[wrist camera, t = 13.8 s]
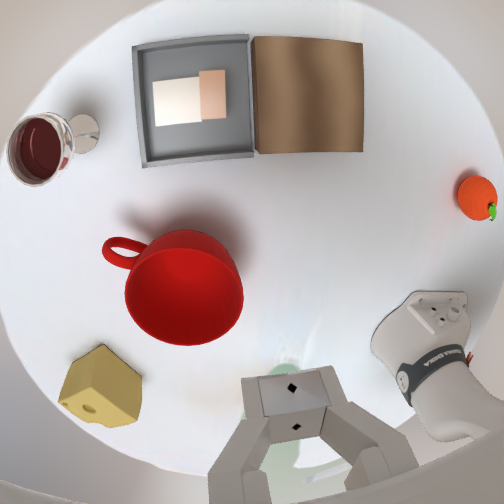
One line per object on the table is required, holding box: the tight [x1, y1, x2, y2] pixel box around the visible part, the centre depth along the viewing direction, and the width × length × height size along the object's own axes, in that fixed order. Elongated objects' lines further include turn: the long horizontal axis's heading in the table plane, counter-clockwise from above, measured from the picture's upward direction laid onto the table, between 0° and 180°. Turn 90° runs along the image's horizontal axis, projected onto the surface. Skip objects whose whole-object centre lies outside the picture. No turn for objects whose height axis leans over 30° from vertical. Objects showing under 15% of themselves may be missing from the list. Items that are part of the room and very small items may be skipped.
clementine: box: [458, 176, 497, 221], centre depth 39 cm, size 8×7×7 cm
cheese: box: [58, 345, 142, 428], centre depth 46 cm, size 10×11×10 cm
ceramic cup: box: [102, 230, 244, 346], centre depth 37 cm, size 13×17×10 cm
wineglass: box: [6, 112, 99, 187], centre depth 27 cm, size 7×7×12 cm
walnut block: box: [250, 36, 364, 154], centre depth 32 cm, size 12×13×4 cm
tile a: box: [153, 77, 203, 126], centre depth 31 cm, size 5×5×2 cm
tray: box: [132, 34, 254, 168], centre depth 32 cm, size 12×14×3 cm
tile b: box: [199, 70, 226, 120], centre depth 30 cm, size 5×5×2 cm
